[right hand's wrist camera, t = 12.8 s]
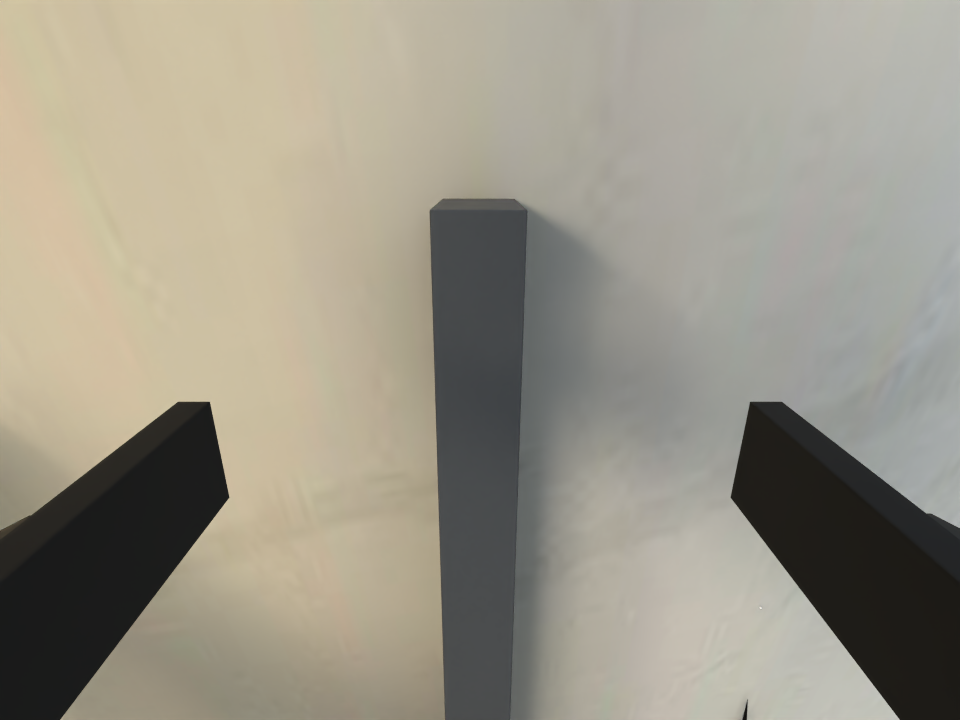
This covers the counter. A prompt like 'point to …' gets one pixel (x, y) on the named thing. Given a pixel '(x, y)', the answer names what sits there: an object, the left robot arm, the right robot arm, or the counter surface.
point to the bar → (478, 442)
